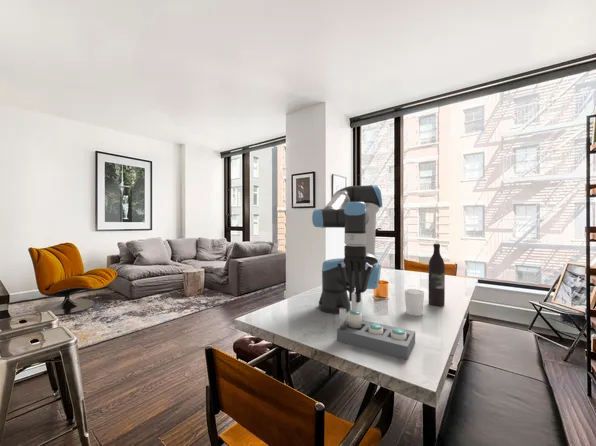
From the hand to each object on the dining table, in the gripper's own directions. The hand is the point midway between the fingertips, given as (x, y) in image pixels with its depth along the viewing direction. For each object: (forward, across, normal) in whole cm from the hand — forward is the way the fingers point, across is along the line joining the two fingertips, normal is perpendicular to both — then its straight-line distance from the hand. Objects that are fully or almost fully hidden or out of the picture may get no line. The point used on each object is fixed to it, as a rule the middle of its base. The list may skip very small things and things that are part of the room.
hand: (354, 310), depth 95 cm
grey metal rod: (+5, -2, -5) cm, 8 cm away
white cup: (+10, +14, +37) cm, 41 cm away
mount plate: (+9, +8, 0) cm, 12 cm away
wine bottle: (+9, +20, +56) cm, 60 cm away
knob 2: (+9, +15, 0) cm, 17 cm away
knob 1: (+5, 0, 0) cm, 5 cm away
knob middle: (+9, +8, 0) cm, 12 cm away
